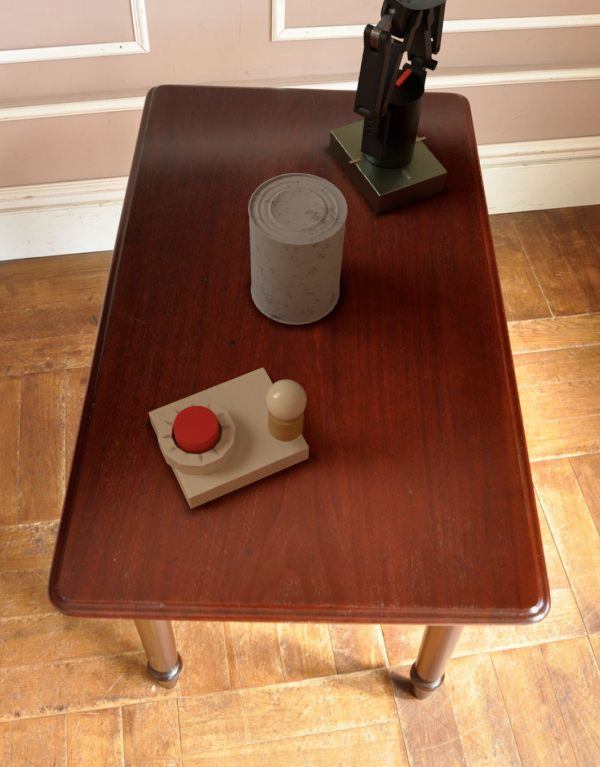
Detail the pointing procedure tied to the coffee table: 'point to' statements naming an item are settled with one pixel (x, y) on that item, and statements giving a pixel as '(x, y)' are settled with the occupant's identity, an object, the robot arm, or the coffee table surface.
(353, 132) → the panel
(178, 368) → the coffee table surface
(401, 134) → the dimmer knob
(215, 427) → the lamp button
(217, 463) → the beige button base
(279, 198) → the unlabeled tin can
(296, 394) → the led lamp
